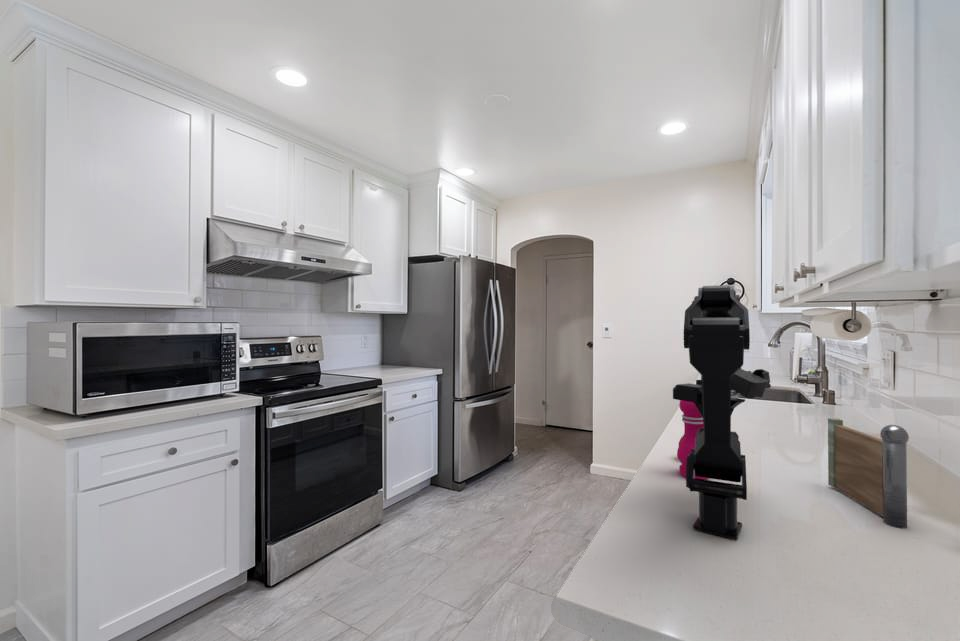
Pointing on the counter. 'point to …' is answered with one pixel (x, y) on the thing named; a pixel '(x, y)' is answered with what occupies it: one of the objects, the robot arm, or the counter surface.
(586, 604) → the counter surface
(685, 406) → the pepper mill
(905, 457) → the gate post
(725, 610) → the counter surface
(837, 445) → the gate
